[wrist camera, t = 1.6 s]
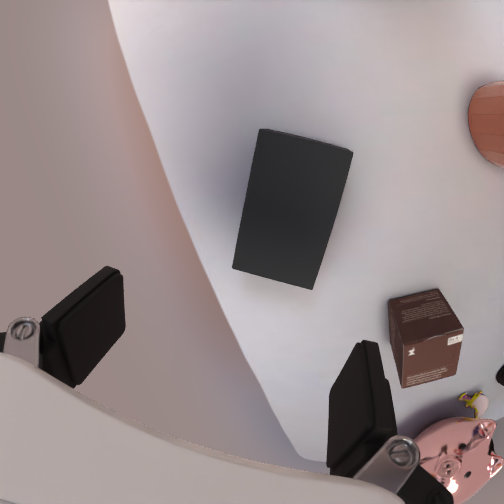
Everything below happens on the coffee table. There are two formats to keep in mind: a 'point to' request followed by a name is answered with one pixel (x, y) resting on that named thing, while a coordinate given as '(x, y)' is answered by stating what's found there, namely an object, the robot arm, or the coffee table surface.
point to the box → (424, 337)
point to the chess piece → (501, 377)
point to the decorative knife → (476, 403)
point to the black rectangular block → (290, 207)
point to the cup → (488, 121)
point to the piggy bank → (460, 454)
